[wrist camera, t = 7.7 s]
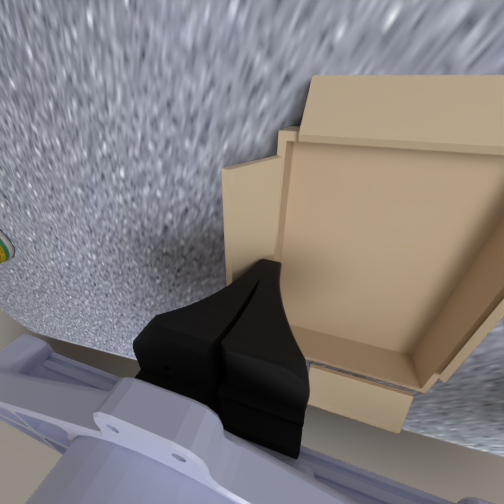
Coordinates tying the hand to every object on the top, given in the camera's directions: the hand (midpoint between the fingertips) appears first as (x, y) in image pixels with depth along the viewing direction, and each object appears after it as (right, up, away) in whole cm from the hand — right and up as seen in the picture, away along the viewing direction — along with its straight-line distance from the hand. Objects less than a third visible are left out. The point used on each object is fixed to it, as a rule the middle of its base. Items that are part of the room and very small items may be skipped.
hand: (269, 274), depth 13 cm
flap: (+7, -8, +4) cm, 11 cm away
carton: (+8, +1, +2) cm, 8 cm away
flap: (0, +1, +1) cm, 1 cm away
